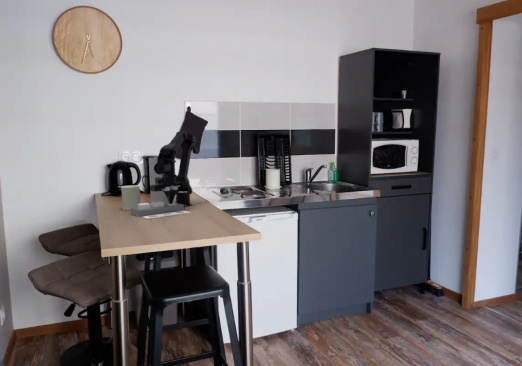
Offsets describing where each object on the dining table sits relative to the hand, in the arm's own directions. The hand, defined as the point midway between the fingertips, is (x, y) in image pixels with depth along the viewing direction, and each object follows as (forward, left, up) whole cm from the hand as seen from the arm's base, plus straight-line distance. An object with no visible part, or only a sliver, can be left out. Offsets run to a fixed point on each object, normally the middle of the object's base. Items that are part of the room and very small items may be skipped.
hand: (170, 203), depth 219 cm
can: (+12, -20, -4) cm, 24 cm away
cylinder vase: (-7, -23, -4) cm, 24 cm away
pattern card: (+7, +10, -3) cm, 12 cm away
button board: (+7, 0, -3) cm, 8 cm away
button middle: (+7, 0, -1) cm, 7 cm away
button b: (0, 0, -2) cm, 2 cm away
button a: (+14, 0, -1) cm, 14 cm away
